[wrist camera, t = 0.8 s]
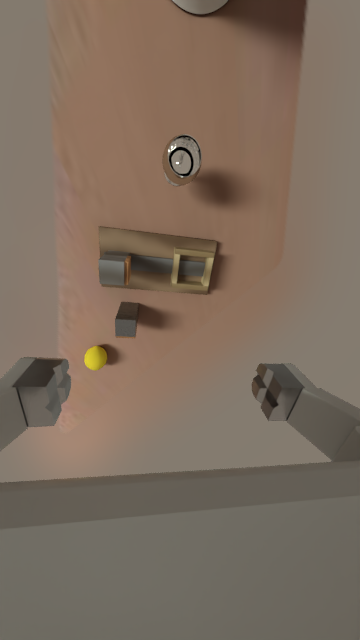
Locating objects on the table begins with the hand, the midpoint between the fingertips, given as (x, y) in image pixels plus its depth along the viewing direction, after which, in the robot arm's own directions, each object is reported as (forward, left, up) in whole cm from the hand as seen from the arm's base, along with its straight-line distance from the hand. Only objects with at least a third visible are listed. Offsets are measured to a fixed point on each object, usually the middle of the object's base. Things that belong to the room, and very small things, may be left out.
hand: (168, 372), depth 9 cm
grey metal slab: (+16, -5, -40) cm, 43 cm away
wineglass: (-13, +3, -40) cm, 42 cm away
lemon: (+29, -13, -40) cm, 51 cm away
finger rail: (+4, +1, -40) cm, 40 cm away
